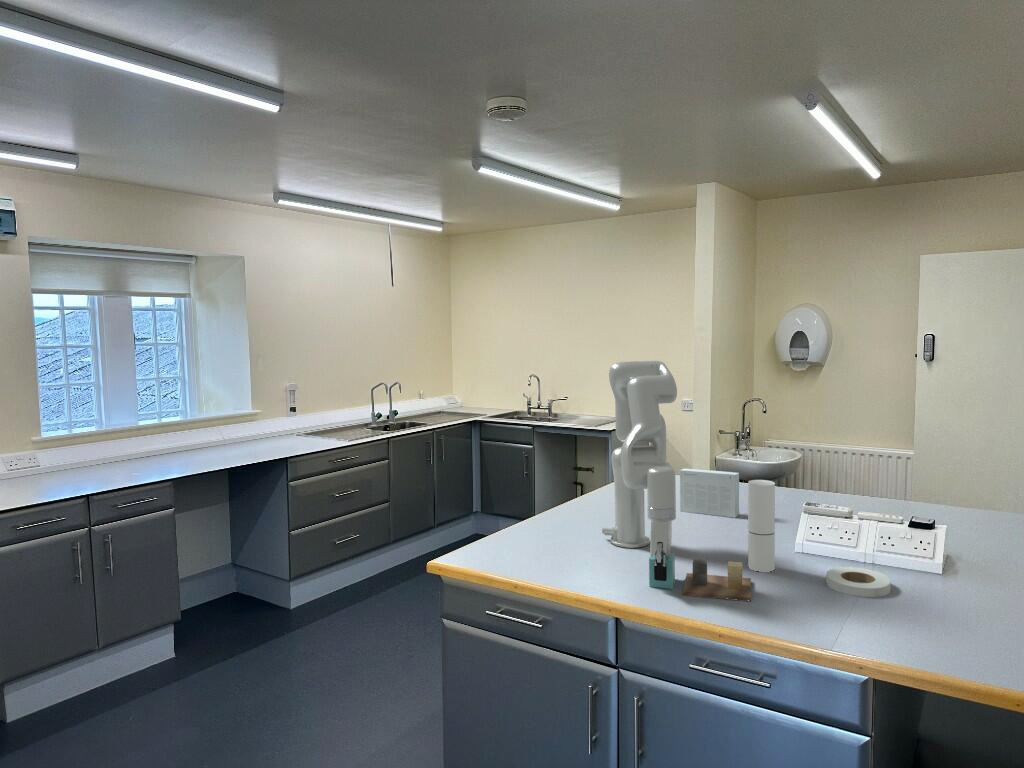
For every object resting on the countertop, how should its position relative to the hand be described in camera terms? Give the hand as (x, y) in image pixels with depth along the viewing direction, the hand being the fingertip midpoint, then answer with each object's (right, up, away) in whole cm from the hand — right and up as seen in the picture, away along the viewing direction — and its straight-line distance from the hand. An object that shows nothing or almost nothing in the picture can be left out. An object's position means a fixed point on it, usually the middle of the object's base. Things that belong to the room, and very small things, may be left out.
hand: (662, 574), depth 190 cm
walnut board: (+14, -3, -4) cm, 15 cm away
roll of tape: (+51, -2, -5) cm, 51 cm away
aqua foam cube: (0, -3, +1) cm, 3 cm away
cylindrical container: (+31, -1, +10) cm, 32 cm away
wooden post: (+18, -3, -5) cm, 19 cm away
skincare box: (+32, +4, +70) cm, 77 cm away
